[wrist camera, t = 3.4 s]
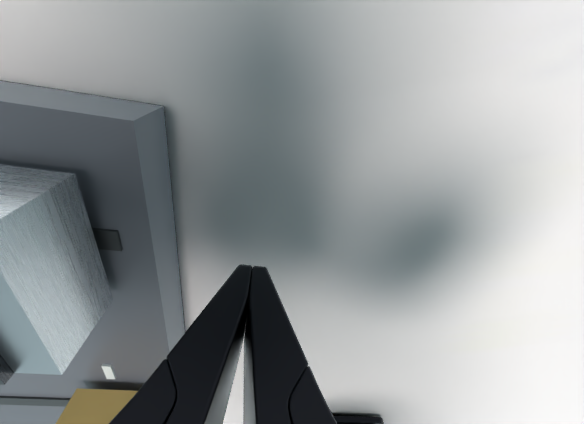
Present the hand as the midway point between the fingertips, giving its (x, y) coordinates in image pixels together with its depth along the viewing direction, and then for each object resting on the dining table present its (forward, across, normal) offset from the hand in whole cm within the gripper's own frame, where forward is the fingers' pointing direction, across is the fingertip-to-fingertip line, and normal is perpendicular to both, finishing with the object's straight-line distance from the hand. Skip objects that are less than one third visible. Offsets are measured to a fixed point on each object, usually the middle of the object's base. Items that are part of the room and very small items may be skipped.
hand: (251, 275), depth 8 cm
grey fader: (+1, +6, 0) cm, 6 cm away
